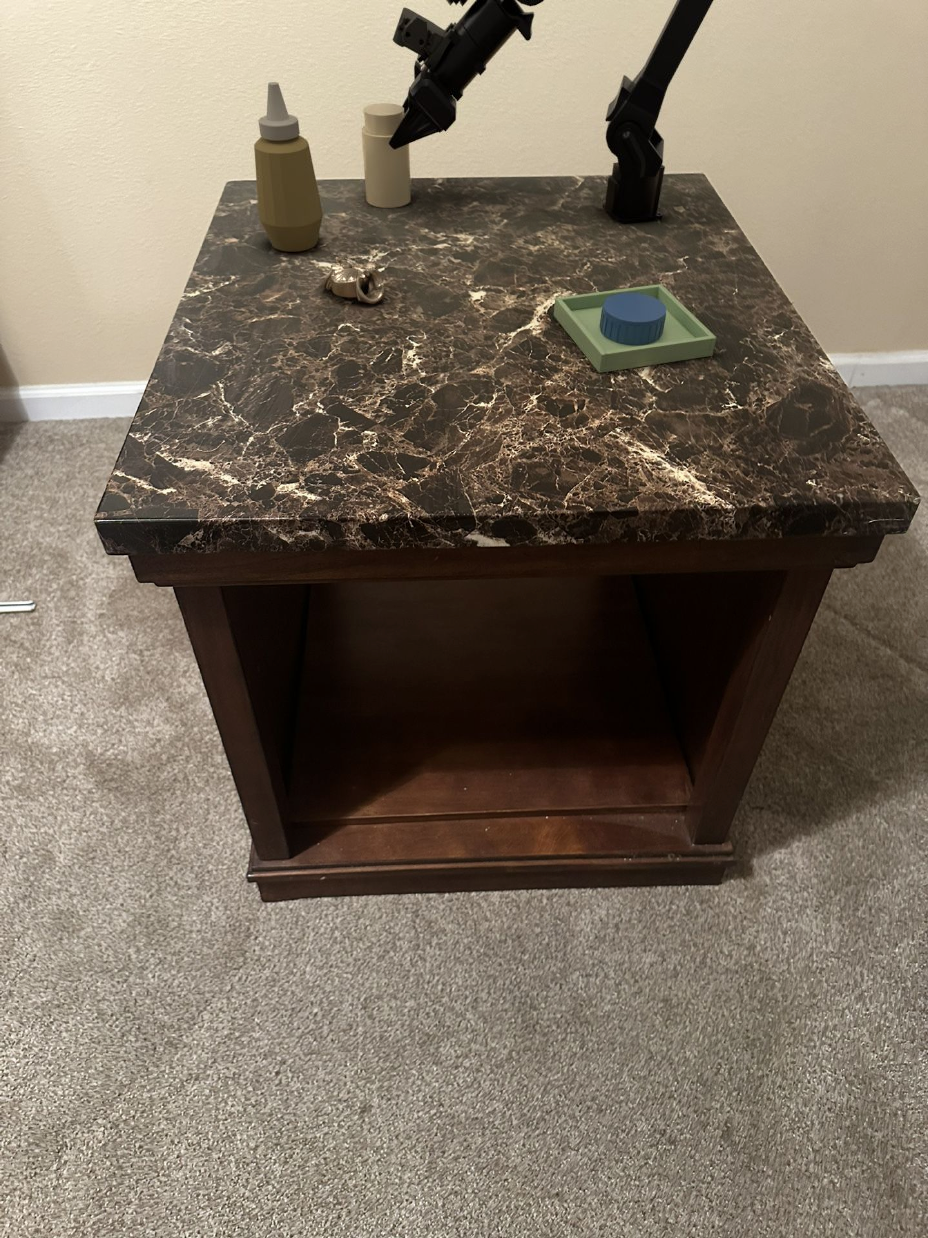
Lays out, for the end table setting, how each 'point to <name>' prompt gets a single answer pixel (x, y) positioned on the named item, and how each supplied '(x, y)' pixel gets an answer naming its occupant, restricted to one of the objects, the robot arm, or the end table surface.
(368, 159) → the jar
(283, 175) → the squeeze bottle
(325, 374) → the end table surface
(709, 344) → the tray
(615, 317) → the lid
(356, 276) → the ornament
